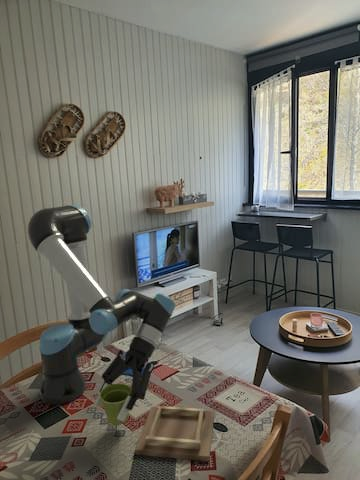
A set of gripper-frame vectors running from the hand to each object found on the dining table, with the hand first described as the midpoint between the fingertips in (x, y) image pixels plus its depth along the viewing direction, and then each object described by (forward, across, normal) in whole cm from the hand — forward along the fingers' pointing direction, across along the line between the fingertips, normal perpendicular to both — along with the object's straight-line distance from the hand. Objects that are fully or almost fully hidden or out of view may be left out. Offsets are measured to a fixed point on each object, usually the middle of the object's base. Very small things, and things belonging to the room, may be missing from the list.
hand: (108, 412), depth 103 cm
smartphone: (-14, +21, -26) cm, 36 cm away
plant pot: (+1, 0, -5) cm, 5 cm away
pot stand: (-4, -16, -13) cm, 21 cm away
